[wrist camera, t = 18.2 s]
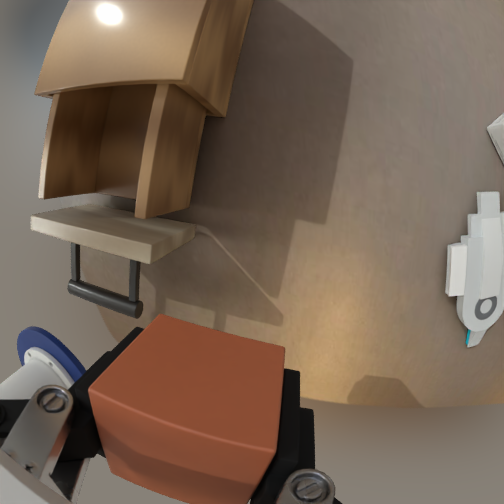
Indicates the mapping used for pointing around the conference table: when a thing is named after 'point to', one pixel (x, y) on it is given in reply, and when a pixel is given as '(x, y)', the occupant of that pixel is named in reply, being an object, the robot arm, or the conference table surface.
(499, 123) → the ink box
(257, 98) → the conference table surface
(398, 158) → the conference table surface
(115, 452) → the block
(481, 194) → the toy rocket
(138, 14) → the cabinet
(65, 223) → the drawer
